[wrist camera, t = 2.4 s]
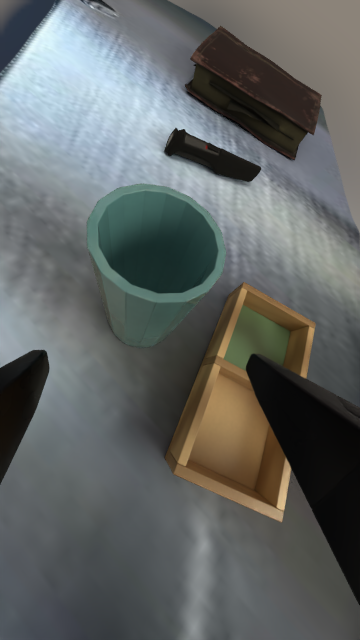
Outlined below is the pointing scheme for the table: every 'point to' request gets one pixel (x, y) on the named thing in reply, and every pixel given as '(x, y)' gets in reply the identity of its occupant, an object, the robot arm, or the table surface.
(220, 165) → the electric trimmer
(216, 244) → the tumbler
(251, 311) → the divided wooden tray
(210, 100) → the diary
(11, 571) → the table surface
